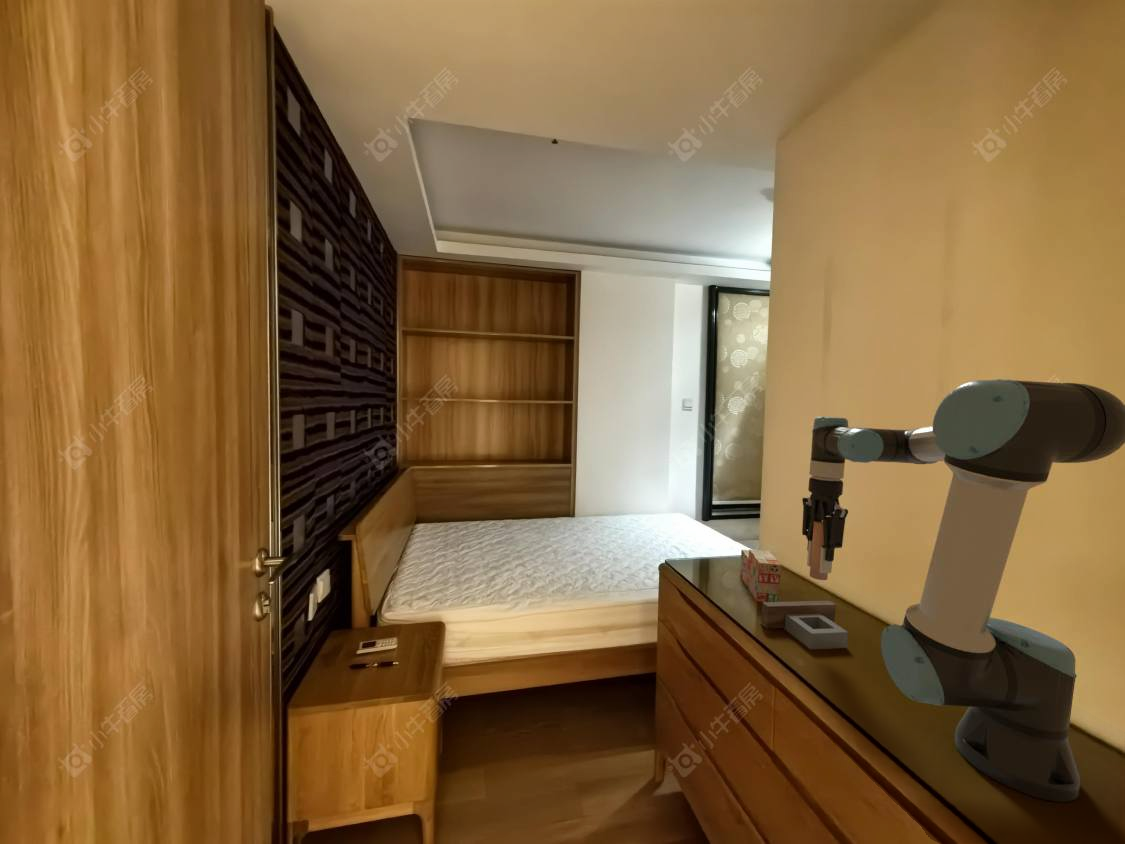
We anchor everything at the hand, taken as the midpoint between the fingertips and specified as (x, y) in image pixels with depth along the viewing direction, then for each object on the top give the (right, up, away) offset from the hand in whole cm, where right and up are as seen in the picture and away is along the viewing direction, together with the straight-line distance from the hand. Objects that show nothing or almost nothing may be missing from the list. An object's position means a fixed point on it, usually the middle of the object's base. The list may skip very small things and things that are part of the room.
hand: (818, 568), depth 119 cm
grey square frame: (-1, -18, 0) cm, 18 cm away
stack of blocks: (-3, -16, +31) cm, 35 cm away
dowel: (0, -2, 0) cm, 2 cm away
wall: (-2, -17, +7) cm, 19 cm away
